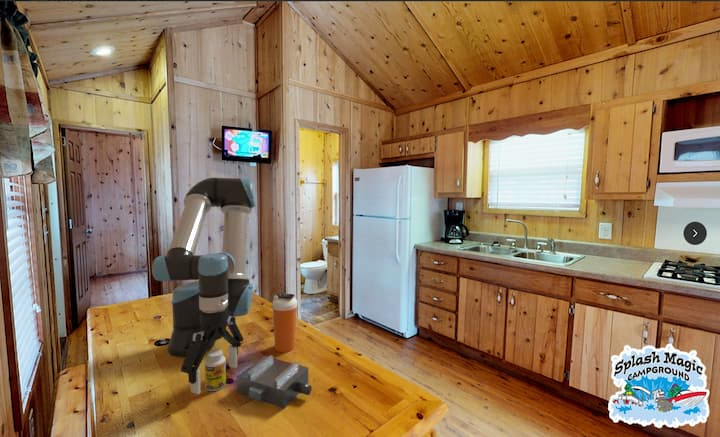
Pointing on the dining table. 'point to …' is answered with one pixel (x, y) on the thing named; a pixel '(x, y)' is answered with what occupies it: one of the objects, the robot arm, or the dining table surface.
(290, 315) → the shaker bottle
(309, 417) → the dining table surface
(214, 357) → the supplement bottle
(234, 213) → the robot arm
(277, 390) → the motor block
